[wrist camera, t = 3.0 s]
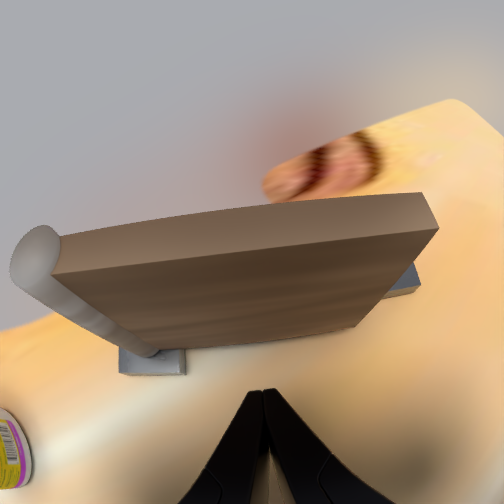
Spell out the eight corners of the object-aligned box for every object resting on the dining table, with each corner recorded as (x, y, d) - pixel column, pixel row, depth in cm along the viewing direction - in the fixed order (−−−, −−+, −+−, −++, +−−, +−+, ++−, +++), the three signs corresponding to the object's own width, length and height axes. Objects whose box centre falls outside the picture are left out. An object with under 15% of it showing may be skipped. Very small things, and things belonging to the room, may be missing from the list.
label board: (425, 335, 15) (436, 329, 14) (127, 375, 15) (116, 372, 14) (391, 231, 19) (398, 220, 17) (132, 262, 19) (124, 252, 17)
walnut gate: (356, 334, 14) (448, 236, 6) (128, 357, 14) (3, 289, 6) (348, 298, 15) (418, 176, 7) (129, 322, 15) (19, 230, 7)
